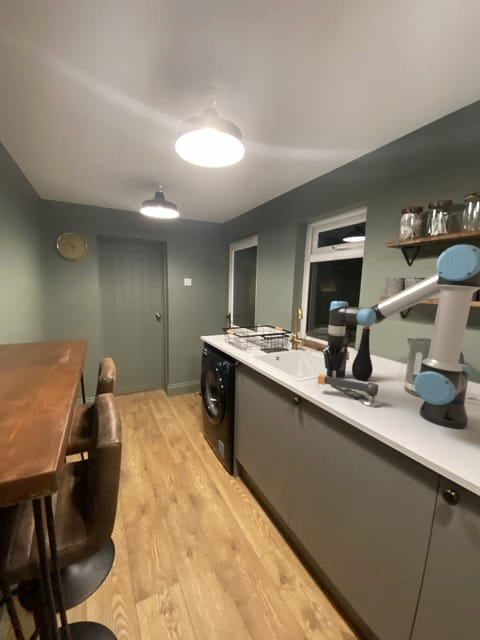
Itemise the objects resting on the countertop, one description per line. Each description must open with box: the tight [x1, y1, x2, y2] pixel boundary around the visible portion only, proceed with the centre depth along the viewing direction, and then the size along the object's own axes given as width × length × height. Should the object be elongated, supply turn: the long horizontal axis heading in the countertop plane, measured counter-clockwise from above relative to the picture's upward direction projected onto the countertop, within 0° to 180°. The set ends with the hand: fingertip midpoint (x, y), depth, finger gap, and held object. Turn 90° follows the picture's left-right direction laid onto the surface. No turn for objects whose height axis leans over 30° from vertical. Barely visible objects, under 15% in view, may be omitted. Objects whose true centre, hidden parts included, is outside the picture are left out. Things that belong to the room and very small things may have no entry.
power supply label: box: [343, 390, 368, 400], centre depth 128 cm, size 8×6×1 cm
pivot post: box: [360, 394, 382, 408], centre depth 119 cm, size 8×8×4 cm
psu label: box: [330, 385, 353, 393], centre depth 136 cm, size 8×6×1 cm
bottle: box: [351, 326, 374, 382], centre depth 152 cm, size 11×11×30 cm
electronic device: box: [326, 341, 349, 380], centre depth 154 cm, size 9×6×20 cm, turn 84°
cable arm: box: [317, 373, 379, 396], centre depth 124 cm, size 25×4×4 cm, turn 62°
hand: (331, 383), depth 130 cm, fingers closed
